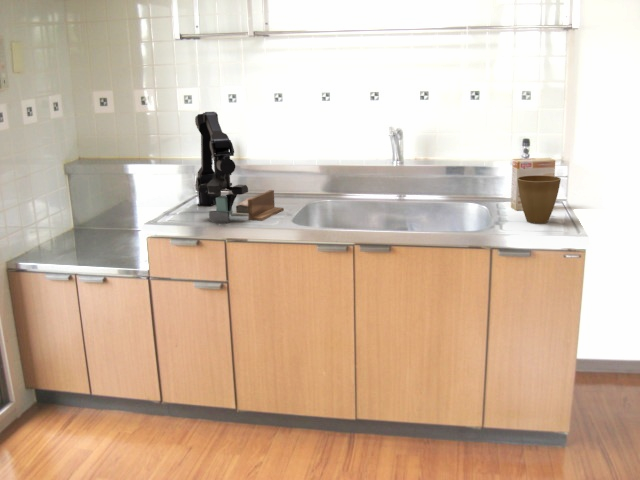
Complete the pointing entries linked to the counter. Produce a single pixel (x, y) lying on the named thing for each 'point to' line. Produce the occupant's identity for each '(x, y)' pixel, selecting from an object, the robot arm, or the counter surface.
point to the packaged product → (241, 209)
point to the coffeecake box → (528, 174)
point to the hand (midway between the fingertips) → (224, 210)
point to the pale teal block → (222, 204)
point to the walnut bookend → (262, 206)
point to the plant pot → (538, 196)
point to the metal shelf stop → (219, 217)
